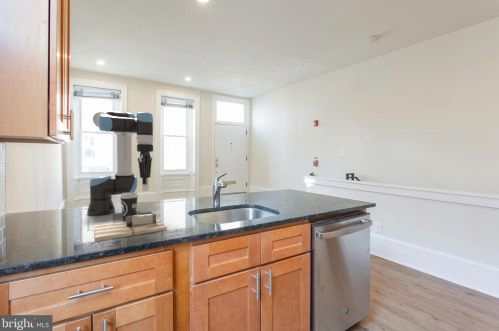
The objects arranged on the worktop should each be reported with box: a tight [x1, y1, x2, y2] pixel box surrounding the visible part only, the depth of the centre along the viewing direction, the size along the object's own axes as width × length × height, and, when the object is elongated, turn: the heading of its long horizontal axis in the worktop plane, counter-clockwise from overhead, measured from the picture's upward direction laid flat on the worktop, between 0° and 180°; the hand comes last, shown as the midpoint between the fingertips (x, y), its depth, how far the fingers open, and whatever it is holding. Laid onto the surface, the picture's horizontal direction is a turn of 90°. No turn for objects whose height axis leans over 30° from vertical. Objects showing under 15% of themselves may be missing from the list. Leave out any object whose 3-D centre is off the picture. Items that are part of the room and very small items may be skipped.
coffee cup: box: [119, 191, 139, 222], centre depth 140 cm, size 10×10×15 cm
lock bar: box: [125, 212, 157, 226], centre depth 125 cm, size 14×4×5 cm, turn 116°
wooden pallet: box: [94, 210, 168, 242], centre depth 122 cm, size 21×30×6 cm
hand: (145, 190), depth 124 cm, fingers closed
